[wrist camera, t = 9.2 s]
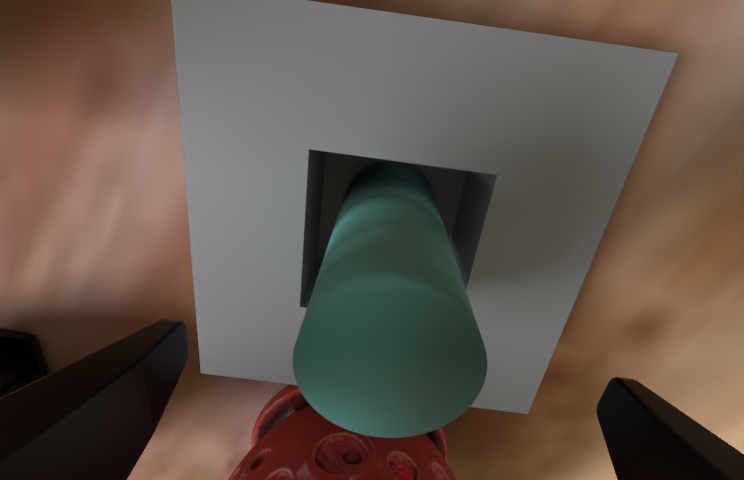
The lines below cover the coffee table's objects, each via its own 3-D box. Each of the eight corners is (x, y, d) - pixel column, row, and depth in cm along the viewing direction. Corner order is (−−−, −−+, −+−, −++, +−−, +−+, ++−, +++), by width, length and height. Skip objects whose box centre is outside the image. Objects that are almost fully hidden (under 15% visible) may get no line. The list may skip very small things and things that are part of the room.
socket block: (241, 305, 21) (200, 373, 16) (236, 5, 15) (169, -20, 10) (497, 338, 21) (527, 414, 17) (592, 55, 15) (678, 53, 11)
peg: (339, 241, 18) (289, 426, 9) (348, 155, 16) (296, 274, 7) (425, 252, 18) (462, 447, 9) (443, 168, 16) (511, 302, 7)
